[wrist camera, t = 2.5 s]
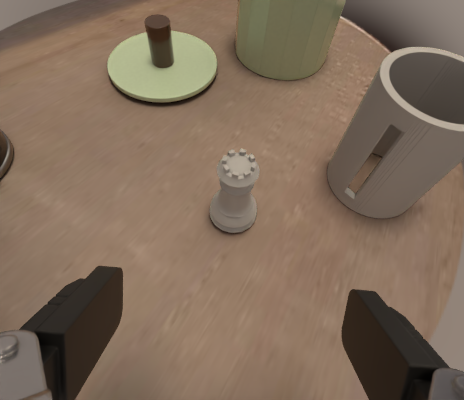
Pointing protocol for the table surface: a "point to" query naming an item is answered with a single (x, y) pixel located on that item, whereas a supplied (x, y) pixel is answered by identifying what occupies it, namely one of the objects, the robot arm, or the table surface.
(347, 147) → the cup
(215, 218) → the rook chess piece
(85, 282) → the robot arm
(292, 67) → the jar
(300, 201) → the table surface
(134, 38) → the jar lid
